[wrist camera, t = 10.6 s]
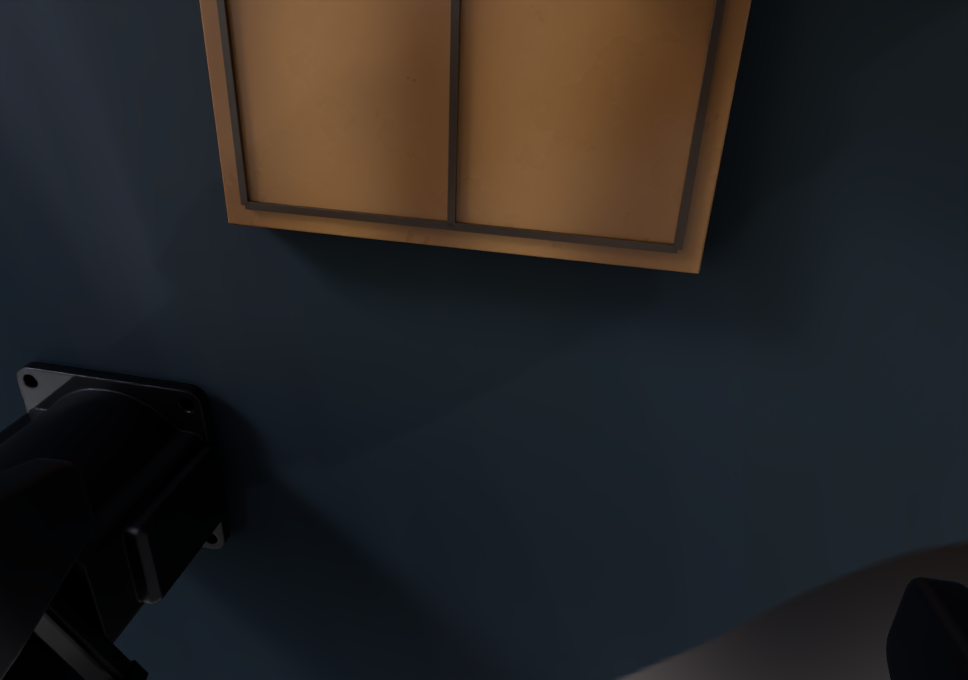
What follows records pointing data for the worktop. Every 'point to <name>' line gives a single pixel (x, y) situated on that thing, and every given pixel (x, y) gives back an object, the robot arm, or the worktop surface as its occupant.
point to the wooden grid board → (479, 121)
